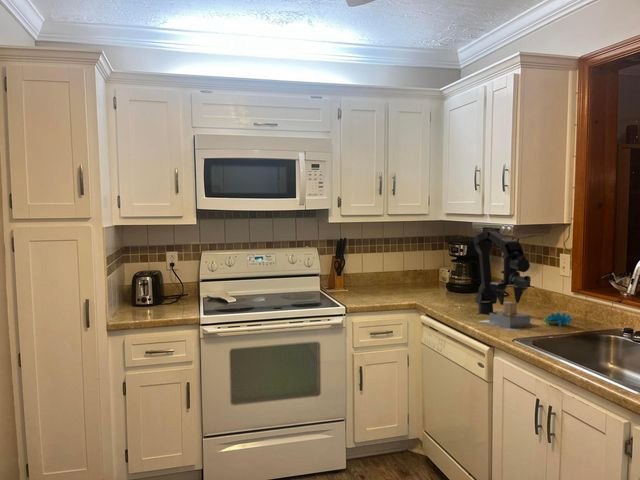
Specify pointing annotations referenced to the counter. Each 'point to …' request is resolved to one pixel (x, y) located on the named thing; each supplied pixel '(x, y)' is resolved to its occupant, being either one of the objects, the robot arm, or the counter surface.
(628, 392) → the counter surface
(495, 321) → the guide block
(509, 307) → the post
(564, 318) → the blue spiky toy
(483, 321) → the base plate
